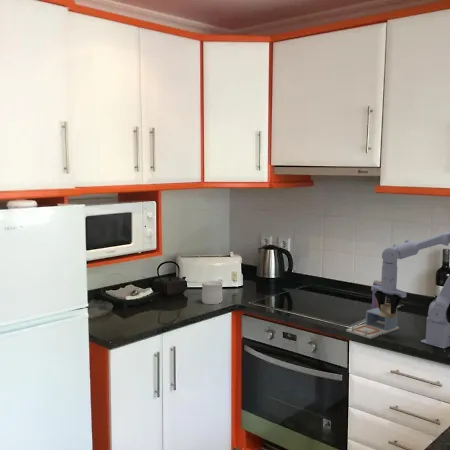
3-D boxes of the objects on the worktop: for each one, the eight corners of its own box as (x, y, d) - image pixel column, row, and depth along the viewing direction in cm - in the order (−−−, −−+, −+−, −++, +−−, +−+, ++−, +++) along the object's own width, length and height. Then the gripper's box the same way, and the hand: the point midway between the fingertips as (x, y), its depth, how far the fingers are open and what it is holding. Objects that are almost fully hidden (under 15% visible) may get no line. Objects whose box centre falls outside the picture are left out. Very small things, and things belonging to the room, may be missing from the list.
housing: (397, 326, 224) (397, 312, 224) (386, 329, 219) (386, 316, 218) (376, 320, 232) (377, 307, 231) (365, 324, 227) (365, 310, 226)
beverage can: (369, 314, 245) (370, 281, 243) (376, 311, 249) (377, 279, 247) (381, 317, 241) (382, 283, 239) (387, 314, 245) (389, 281, 243)
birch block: (396, 316, 214) (397, 305, 213) (390, 318, 211) (390, 307, 210) (386, 313, 217) (387, 302, 217) (380, 315, 214) (380, 304, 214)
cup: (226, 302, 262) (226, 282, 261) (211, 306, 255) (212, 285, 254) (212, 298, 269) (212, 279, 268) (197, 302, 262) (198, 282, 261)
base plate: (398, 328, 224) (399, 322, 224) (370, 338, 211) (370, 331, 211) (374, 322, 233) (375, 315, 233) (346, 331, 220) (346, 324, 220)
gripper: (411, 279, 209) (409, 314, 210) (379, 273, 220) (377, 306, 221) (401, 282, 204) (399, 317, 206) (368, 275, 215) (367, 309, 217)
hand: (387, 311), depth 213 cm, fingers closed on birch block, 4 cm apart
